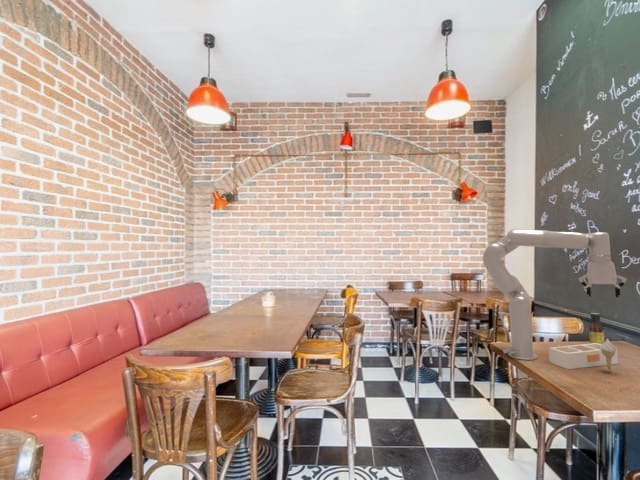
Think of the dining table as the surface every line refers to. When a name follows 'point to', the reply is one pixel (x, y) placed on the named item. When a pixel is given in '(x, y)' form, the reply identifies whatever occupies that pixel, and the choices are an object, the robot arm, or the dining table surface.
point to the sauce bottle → (596, 329)
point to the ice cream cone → (608, 352)
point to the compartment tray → (579, 356)
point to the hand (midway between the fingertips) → (603, 296)
